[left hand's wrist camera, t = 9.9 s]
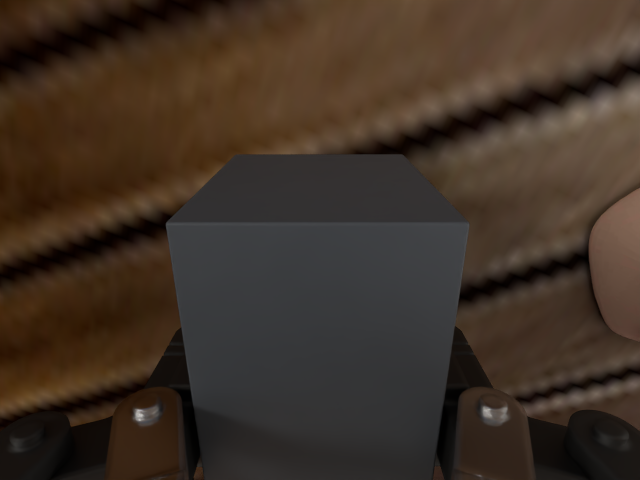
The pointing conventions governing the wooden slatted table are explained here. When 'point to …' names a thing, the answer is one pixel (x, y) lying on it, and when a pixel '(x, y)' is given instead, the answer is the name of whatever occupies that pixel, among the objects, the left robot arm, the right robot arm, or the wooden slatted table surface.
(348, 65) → the wooden slatted table surface
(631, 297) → the anatomical model
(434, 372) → the bar
